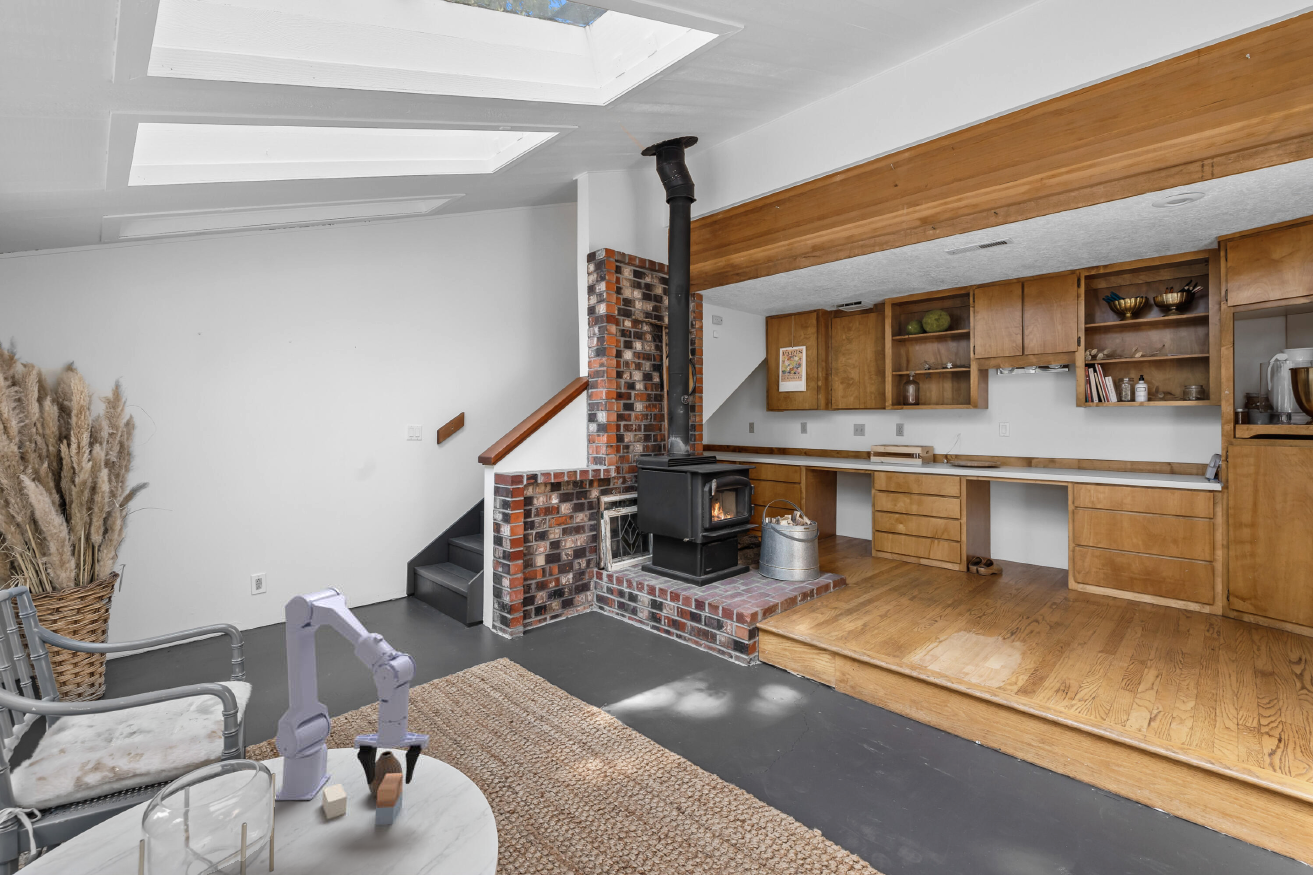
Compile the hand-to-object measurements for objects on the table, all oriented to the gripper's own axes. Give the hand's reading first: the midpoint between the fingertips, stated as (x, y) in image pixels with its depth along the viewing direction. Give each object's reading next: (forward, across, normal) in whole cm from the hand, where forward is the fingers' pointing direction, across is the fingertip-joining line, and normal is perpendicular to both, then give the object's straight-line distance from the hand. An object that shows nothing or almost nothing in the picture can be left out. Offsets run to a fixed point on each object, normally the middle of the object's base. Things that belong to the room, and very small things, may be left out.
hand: (389, 781), depth 123 cm
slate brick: (+7, 0, 0) cm, 7 cm away
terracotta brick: (+3, 0, 0) cm, 4 cm away
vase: (+7, +4, -8) cm, 11 cm away
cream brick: (+7, +12, -2) cm, 14 cm away
